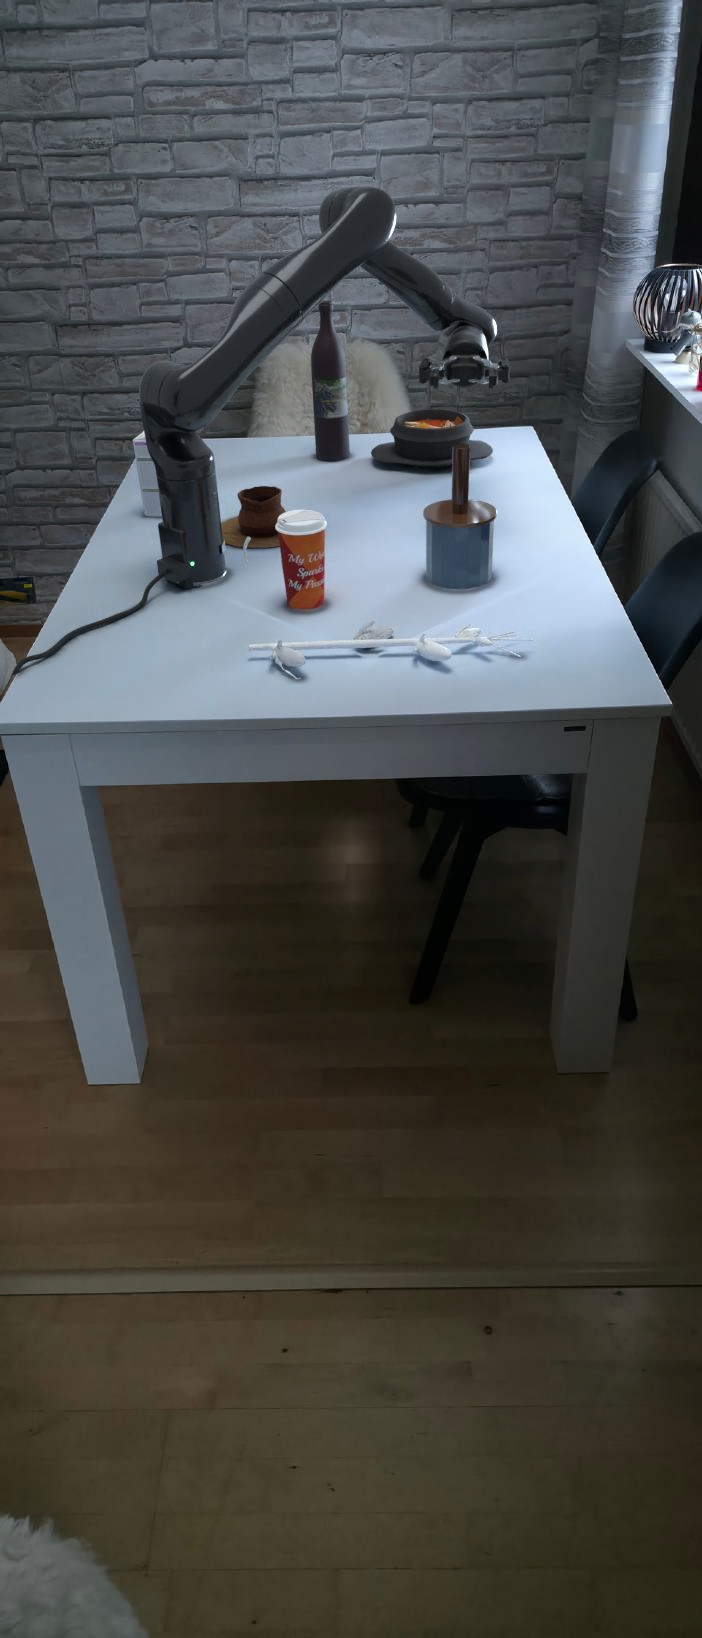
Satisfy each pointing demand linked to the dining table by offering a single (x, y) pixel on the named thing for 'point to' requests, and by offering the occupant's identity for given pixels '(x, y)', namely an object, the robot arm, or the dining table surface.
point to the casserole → (429, 439)
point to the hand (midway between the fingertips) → (463, 382)
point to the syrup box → (147, 477)
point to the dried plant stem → (377, 642)
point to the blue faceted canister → (459, 555)
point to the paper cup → (303, 557)
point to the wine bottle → (329, 390)
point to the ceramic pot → (255, 518)
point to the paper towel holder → (460, 498)
